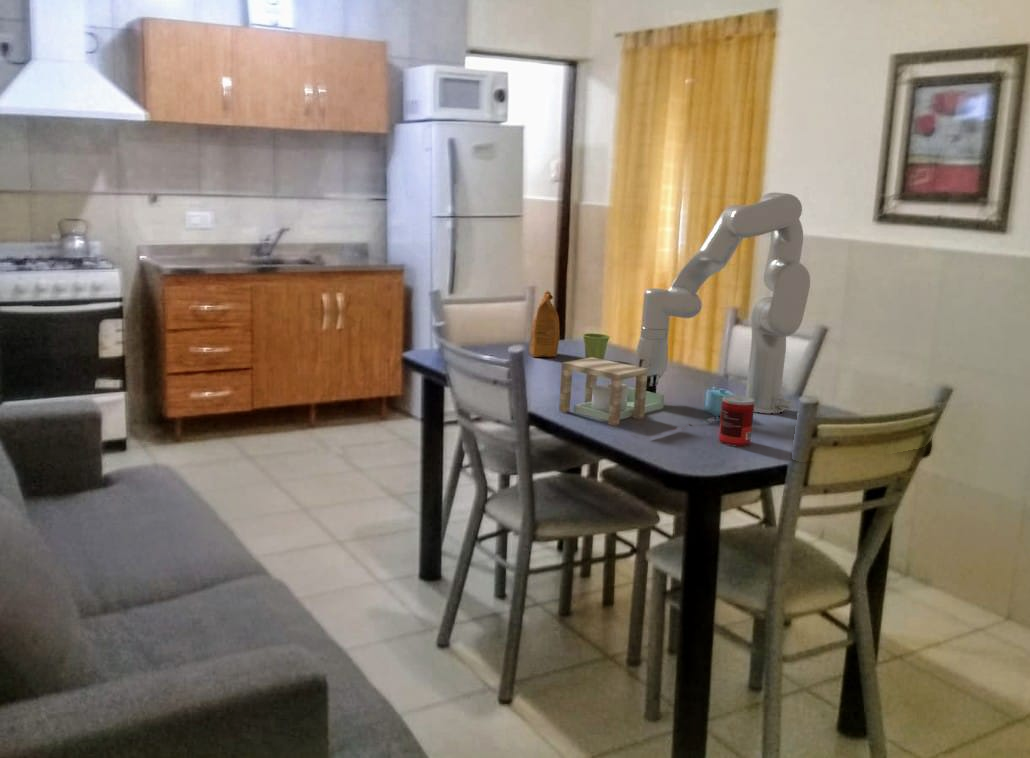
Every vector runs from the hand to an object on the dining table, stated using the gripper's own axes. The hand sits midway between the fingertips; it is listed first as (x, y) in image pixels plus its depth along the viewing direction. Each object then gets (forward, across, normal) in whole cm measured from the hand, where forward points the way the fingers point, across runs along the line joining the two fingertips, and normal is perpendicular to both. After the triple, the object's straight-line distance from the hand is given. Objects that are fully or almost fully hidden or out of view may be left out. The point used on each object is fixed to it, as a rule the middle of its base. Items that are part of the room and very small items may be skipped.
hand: (648, 398), depth 273 cm
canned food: (+2, +14, +35) cm, 38 cm away
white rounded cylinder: (+1, +22, 0) cm, 22 cm away
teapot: (+2, -7, +18) cm, 20 cm away
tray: (+2, +14, 0) cm, 14 cm away
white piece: (+1, +16, 0) cm, 16 cm away
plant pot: (+2, -41, -50) cm, 65 cm away
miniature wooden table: (+2, +22, 0) cm, 22 cm away
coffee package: (+2, -33, -66) cm, 74 cm away
